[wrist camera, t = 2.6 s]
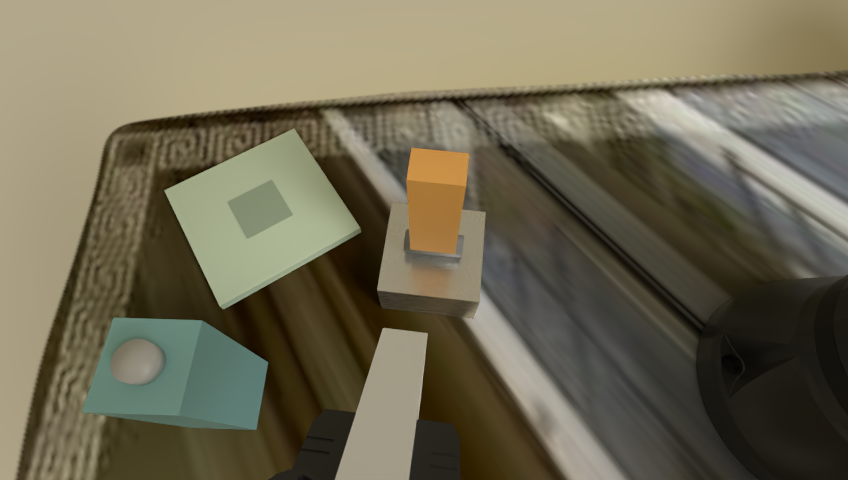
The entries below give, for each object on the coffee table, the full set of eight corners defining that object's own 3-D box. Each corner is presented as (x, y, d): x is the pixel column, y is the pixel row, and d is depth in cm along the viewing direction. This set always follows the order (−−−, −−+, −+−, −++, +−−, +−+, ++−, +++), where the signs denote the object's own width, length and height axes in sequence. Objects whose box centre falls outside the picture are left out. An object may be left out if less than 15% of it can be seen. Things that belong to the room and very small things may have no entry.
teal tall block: (268, 362, 33) (193, 314, 22) (256, 429, 31) (167, 413, 20) (206, 360, 33) (101, 311, 22) (190, 427, 31) (66, 410, 20)
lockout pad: (296, 134, 42) (293, 127, 41) (361, 232, 38) (360, 227, 37) (168, 195, 39) (163, 189, 38) (223, 309, 35) (219, 305, 34)
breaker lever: (460, 264, 32) (476, 187, 23) (403, 258, 32) (396, 178, 23) (463, 238, 33) (478, 154, 24) (407, 232, 33) (402, 146, 24)
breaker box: (473, 318, 34) (479, 302, 31) (381, 307, 35) (376, 290, 31) (479, 233, 37) (485, 209, 34) (395, 224, 38) (392, 199, 34)
